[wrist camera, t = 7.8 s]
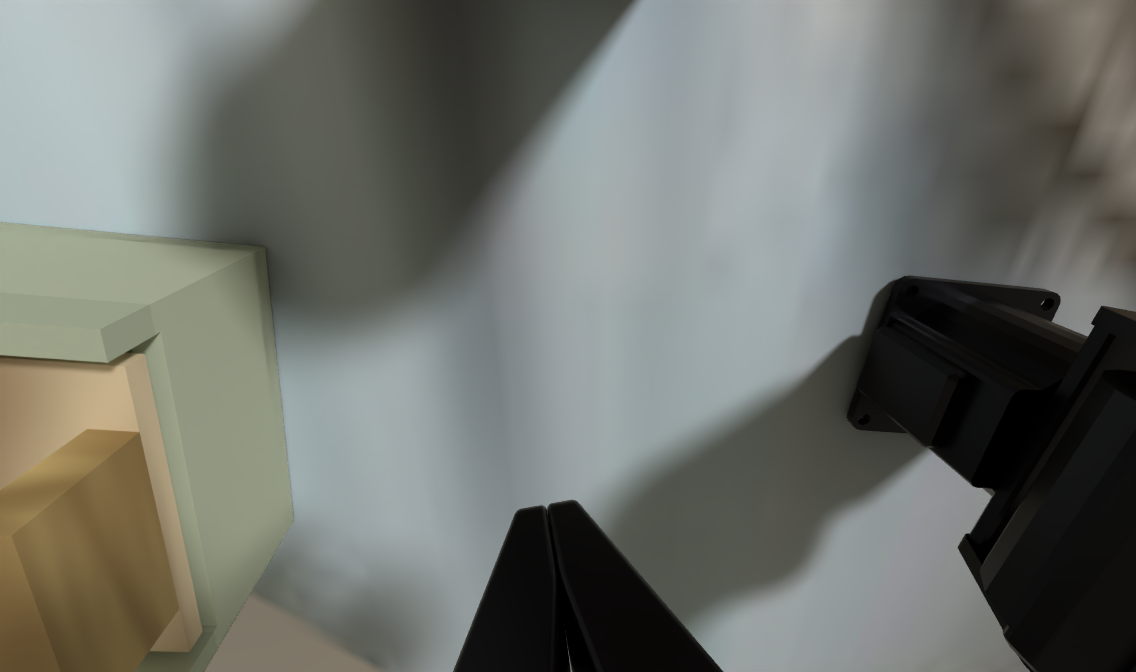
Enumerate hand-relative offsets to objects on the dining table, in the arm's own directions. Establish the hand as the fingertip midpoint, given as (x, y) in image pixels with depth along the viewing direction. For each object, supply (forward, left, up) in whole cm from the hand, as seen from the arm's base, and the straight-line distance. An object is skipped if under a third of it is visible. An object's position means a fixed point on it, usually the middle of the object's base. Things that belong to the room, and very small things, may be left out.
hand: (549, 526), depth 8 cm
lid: (+14, +6, -7) cm, 17 cm away
